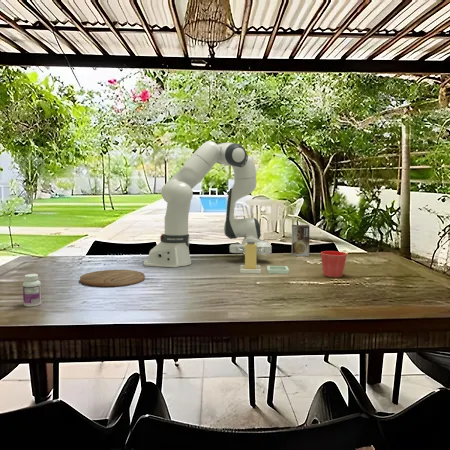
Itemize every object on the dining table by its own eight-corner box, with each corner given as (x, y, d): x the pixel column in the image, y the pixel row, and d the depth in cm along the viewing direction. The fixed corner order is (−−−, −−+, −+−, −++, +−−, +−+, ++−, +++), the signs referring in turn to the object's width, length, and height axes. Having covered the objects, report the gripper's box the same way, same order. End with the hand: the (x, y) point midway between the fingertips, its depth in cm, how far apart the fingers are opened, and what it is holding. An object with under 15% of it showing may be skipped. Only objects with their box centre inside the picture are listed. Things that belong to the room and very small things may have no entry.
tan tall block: (244, 271, 193) (245, 242, 191) (244, 269, 198) (245, 240, 196) (256, 272, 192) (256, 242, 191) (256, 269, 197) (256, 240, 196)
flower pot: (347, 274, 190) (348, 251, 189) (343, 279, 180) (344, 255, 179) (323, 271, 195) (324, 250, 194) (317, 276, 185) (318, 253, 184)
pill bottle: (27, 302, 143) (25, 273, 142) (43, 302, 144) (42, 273, 143) (20, 307, 138) (19, 276, 137) (38, 306, 138) (37, 276, 137)
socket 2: (267, 273, 190) (268, 269, 190) (267, 269, 199) (267, 265, 199) (288, 273, 190) (289, 270, 190) (287, 269, 199) (287, 266, 199)
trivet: (66, 284, 168) (65, 279, 168) (105, 272, 192) (105, 267, 191) (122, 291, 160) (122, 285, 160) (156, 276, 183) (156, 272, 183)
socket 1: (240, 272, 191) (240, 269, 190) (240, 268, 200) (240, 265, 200) (261, 273, 190) (261, 269, 190) (260, 268, 199) (260, 265, 199)
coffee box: (308, 254, 239) (309, 224, 238) (309, 256, 233) (310, 226, 231) (291, 253, 240) (291, 224, 238) (291, 256, 234) (292, 225, 232)
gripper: (229, 240, 220) (228, 244, 207) (270, 240, 219) (272, 244, 206) (229, 252, 221) (228, 257, 207) (270, 253, 220) (272, 258, 206)
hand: (250, 251), depth 206 cm, fingers open, 8 cm apart
